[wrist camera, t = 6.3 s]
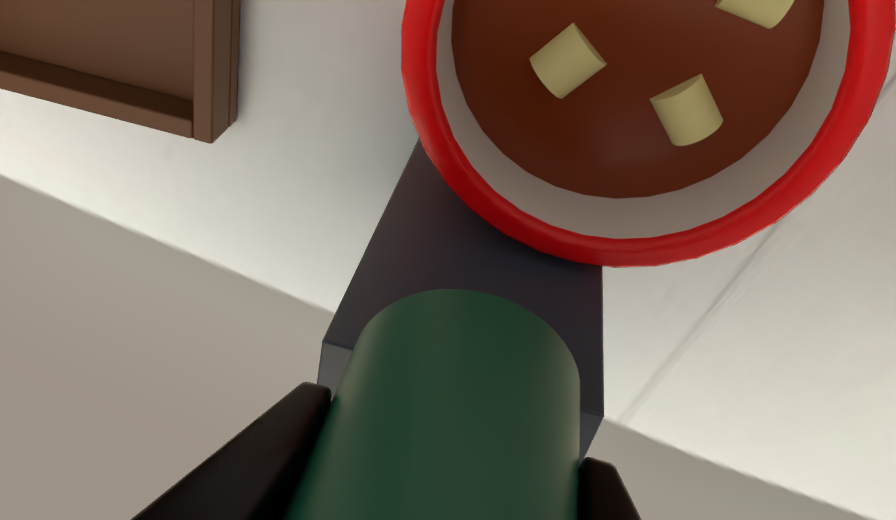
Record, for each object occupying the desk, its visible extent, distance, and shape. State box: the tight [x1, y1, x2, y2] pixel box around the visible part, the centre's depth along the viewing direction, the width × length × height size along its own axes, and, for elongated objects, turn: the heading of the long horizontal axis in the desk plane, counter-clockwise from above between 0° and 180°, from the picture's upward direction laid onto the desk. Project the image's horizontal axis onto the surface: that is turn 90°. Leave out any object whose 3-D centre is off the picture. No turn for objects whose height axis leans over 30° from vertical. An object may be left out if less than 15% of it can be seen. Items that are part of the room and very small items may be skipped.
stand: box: [317, 138, 604, 466], centre depth 18 cm, size 5×5×12 cm
